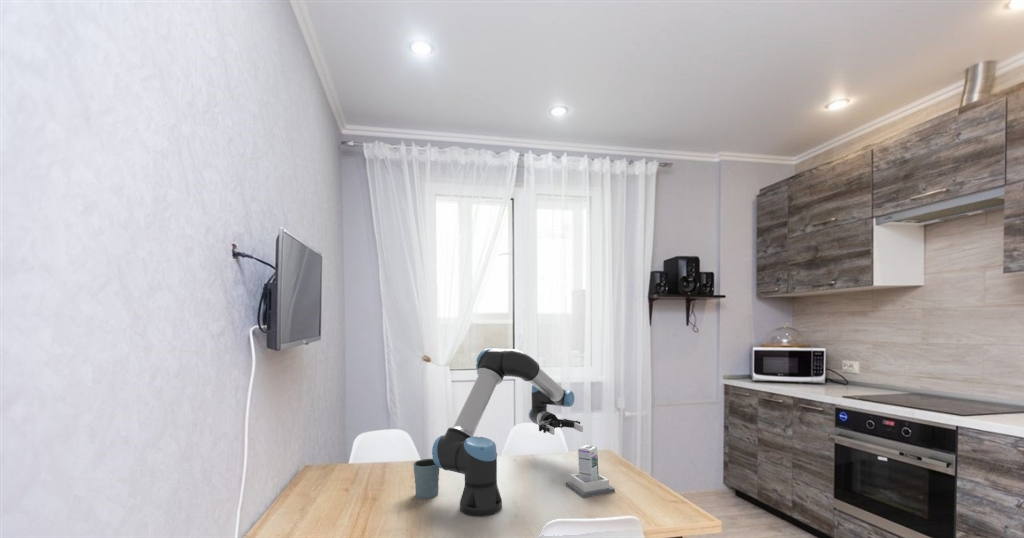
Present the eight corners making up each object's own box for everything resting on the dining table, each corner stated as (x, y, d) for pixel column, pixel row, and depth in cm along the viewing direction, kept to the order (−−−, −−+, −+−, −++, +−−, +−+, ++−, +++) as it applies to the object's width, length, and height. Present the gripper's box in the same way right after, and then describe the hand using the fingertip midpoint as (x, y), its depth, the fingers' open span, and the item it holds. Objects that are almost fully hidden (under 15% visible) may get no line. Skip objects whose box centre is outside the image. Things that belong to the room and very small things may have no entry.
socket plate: (583, 497, 168) (582, 485, 169) (565, 484, 181) (565, 474, 182) (614, 491, 173) (614, 480, 173) (595, 479, 186) (595, 469, 186)
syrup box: (592, 489, 173) (591, 450, 175) (579, 485, 177) (577, 447, 178) (599, 484, 178) (597, 446, 179) (585, 481, 181) (584, 444, 183)
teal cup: (434, 500, 168) (434, 467, 169) (408, 498, 170) (409, 466, 171) (443, 490, 177) (443, 458, 179) (419, 488, 179) (419, 457, 181)
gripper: (571, 426, 215) (593, 436, 195) (522, 430, 207) (541, 441, 187) (570, 410, 216) (593, 418, 196) (522, 414, 208) (541, 423, 188)
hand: (568, 430), depth 192 cm, fingers open, 13 cm apart
